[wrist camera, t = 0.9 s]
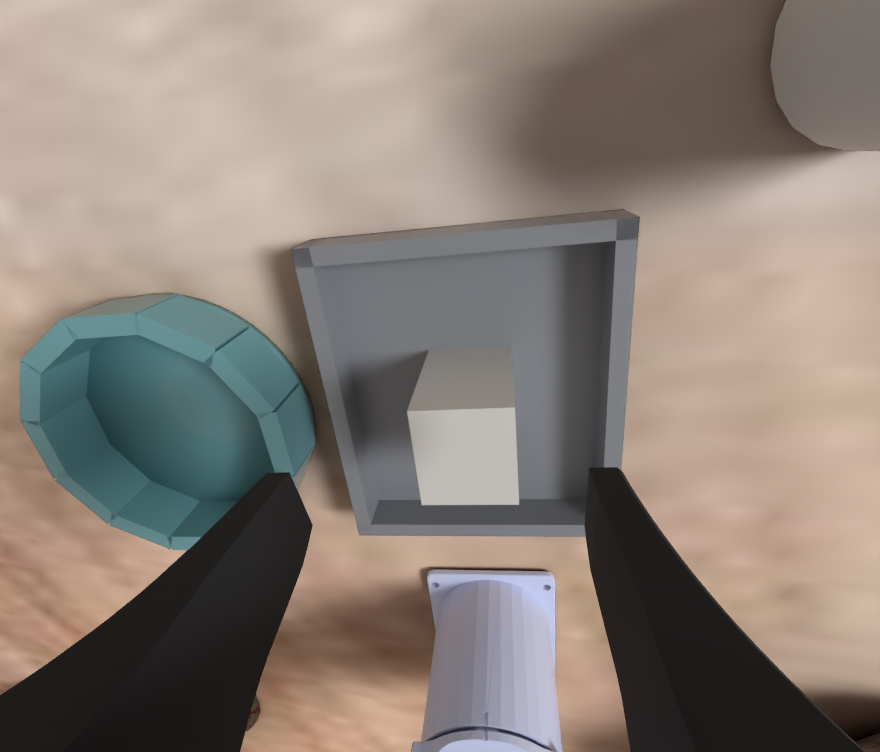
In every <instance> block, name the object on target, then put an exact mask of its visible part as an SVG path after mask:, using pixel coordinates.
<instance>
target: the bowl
mask: <svg viewBox="0 0 880 752" xmlns="http://www.w3.org/2000/svg"><path fill="white" fill-rule="evenodd" d="M21 360H22V361H21V362H20V419H21V420H23V421H21V423H22V424H23V426H24V428H25V430H26V431H27V433H28V435H29V437H30V438H31V440H32V442H33V444H34V445H35V447H36V449H37V451H38V452H39V454H40V456H41V458H42V459H43V461H44V463H45V465H46V466H47V468H48V470H49V472H50V473H51V475H52V477H53V478H57V479H56V480H55V481H57V482H58V483H59V484H60V485H61V486H63V487H64V488H65V489H66V490H67V491H69V492H70V493H71V494H72V495H73V496H75V497H76V498H77V499H78V500H79V501H81V502H82V503H83V504H84V505H85V506H87V507H88V508H89V509H90V510H91V511H93V512H94V513H95V514H96V515H97V516H99V517H100V518H101V519H102V520H103V521H105V522H106V523H107V524H108V523H110V526H113V527H115V528H118V529H120V530H123V531H125V532H128V533H131V534H133V535H136V536H138V537H141V538H143V539H146V540H148V541H151V542H153V543H156V544H158V545H161V546H163V547H166V548H168V549H171V548H172V549H173V550H189V549H190V548H191V547H192V546H193V545H194V544H195V543H196V542H197V541H198V540H199V539H200V538H201V537H202V536H203V535H204V534H205V533H206V532H207V531H208V530H209V529H210V528H211V527H212V526H213V525H214V524H216V523H217V522H218V521H219V520H220V519H221V518H222V517H223V516H224V515H225V514H226V513H227V512H228V511H229V510H230V509H231V508H232V507H233V506H234V505H235V504H236V503H237V502H238V501H239V500H240V499H241V498H242V497H243V496H244V495H245V494H246V493H247V492H248V491H249V490H250V489H251V488H252V487H253V486H254V485H255V484H256V483H257V482H258V481H259V480H260V479H261V478H262V477H263V476H264V475H265V474H266V473H283V472H290V475H291V477H292V479H293V482H294V484H295V486H296V488H297V490H298V488H299V486H300V483H301V481H302V478H303V475H304V473H305V471H306V469H307V467H308V465H309V463H310V461H311V458H312V454H313V451H314V447H315V444H316V443H315V442H316V440H315V437H316V430H315V418H314V413H313V407H312V404H311V401H310V398H309V395H308V393H307V390H306V388H305V386H304V384H303V382H302V380H301V378H300V376H299V375H298V373H297V372H296V370H295V368H294V367H293V365H292V364H291V362H290V361H289V360H288V359H287V357H286V356H285V355H284V354H283V352H282V351H281V350H280V349H279V348H278V347H277V346H276V345H275V344H274V343H273V342H272V341H271V340H270V339H269V338H268V337H267V336H266V335H265V334H263V333H262V332H261V331H260V330H258V329H257V328H256V327H255V326H254V325H252V324H251V323H249V322H248V321H246V320H245V319H243V318H241V317H240V316H238V315H237V314H235V313H233V312H231V311H229V310H227V309H225V308H223V307H221V306H219V305H216V304H213V303H211V302H208V301H205V300H202V299H198V298H194V297H190V296H186V295H179V294H171V293H152V294H146V295H140V296H135V297H132V298H123V299H112V300H110V301H107V302H104V303H102V304H99V305H97V306H94V307H91V308H89V309H86V310H84V311H81V312H78V313H76V314H73V315H70V316H68V317H65V318H63V319H60V320H59V321H58V322H57V323H56V324H55V325H54V326H53V327H52V328H51V329H50V331H49V332H48V333H47V334H46V335H45V336H44V337H43V338H42V339H41V340H40V341H39V342H38V343H37V344H36V345H35V346H34V347H33V348H32V349H31V350H30V351H29V352H28V353H27V354H26V355H25V356H24V357H23V358H22V359H21Z"/></svg>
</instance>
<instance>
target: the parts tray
mask: <svg viewBox="0 0 880 752" xmlns="http://www.w3.org/2000/svg"><path fill="white" fill-rule="evenodd" d="M639 219H640V217H639V216H637V215H635V214H633V213H630V212H628V211H626V210H624V209H622V210H611V211H601V212H590V213H580V214H570V215H559V216H549V217H538V218H528V219H518V220H507V221H497V222H486V223H476V224H466V225H455V226H445V227H434V228H424V229H414V230H403V231H393V232H382V233H372V234H362V235H351V236H341V237H330V238H320V239H312V240H310V241H308V242H305V243H303V244H301V245H299V246H297V247H295V248H293V249H291V253H292V257H293V261H294V265H295V270H296V274H297V278H298V282H299V286H300V290H301V295H302V299H303V303H304V307H305V311H306V315H307V320H308V324H309V328H310V332H311V336H312V340H313V345H314V349H315V353H316V357H317V361H318V365H319V370H320V374H321V378H322V382H323V386H324V390H325V395H326V399H327V403H328V407H329V411H330V415H331V420H332V424H333V428H334V432H335V436H336V440H337V445H338V449H339V453H340V457H341V461H342V465H343V470H344V474H345V478H346V482H347V486H348V490H349V495H350V499H351V503H352V507H353V511H354V515H355V520H356V524H357V528H358V532H359V535H378V536H544V537H586V534H585V526H584V525H585V513H586V500H587V488H588V475H589V468H600V467H618V468H619V469H620V470H621V465H622V452H623V438H624V424H625V411H626V397H627V383H628V370H629V356H630V342H631V329H632V315H633V301H634V288H635V274H636V260H637V247H638V233H639ZM508 345H511V348H512V365H513V382H514V399H515V419H516V442H517V465H518V488H519V505H422V503H421V497H420V491H419V484H418V478H417V472H416V465H415V459H414V453H413V446H412V440H411V434H410V428H409V421H408V415H407V410H408V407H409V404H410V401H411V399H412V396H413V393H414V390H415V387H416V385H417V382H418V379H419V376H420V373H421V371H422V368H423V365H424V362H425V360H426V357H427V354H428V351H429V350H436V349H454V348H472V347H490V346H508Z"/></svg>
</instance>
